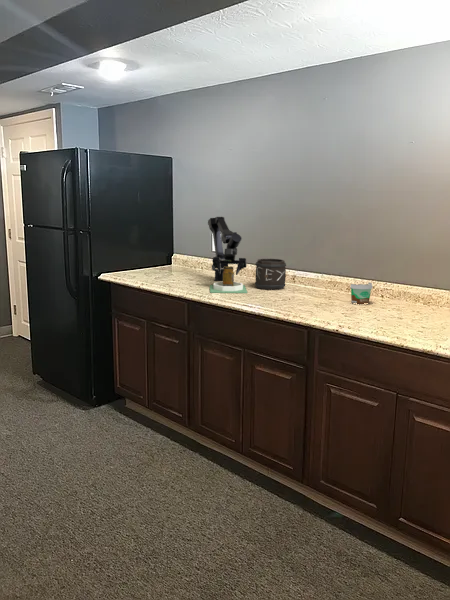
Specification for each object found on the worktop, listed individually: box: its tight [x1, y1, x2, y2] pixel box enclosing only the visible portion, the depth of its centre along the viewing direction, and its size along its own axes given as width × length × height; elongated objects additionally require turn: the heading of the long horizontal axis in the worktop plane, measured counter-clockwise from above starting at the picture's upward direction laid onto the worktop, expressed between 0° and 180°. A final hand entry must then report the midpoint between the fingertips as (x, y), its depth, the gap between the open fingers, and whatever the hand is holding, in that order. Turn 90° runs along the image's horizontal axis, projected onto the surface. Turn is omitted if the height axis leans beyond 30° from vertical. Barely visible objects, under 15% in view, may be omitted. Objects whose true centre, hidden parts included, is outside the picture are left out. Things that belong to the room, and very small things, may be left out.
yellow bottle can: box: [222, 265, 235, 286], centre depth 287 cm, size 7×8×12 cm
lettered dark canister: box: [254, 258, 287, 291], centre depth 293 cm, size 18×18×16 cm
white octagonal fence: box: [213, 281, 244, 291], centre depth 288 cm, size 16×16×2 cm
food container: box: [349, 282, 374, 304], centre depth 254 cm, size 12×6×10 cm, turn 117°
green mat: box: [209, 284, 248, 294], centre depth 288 cm, size 22×20×1 cm
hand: (227, 274), depth 285 cm, fingers open, 9 cm apart
